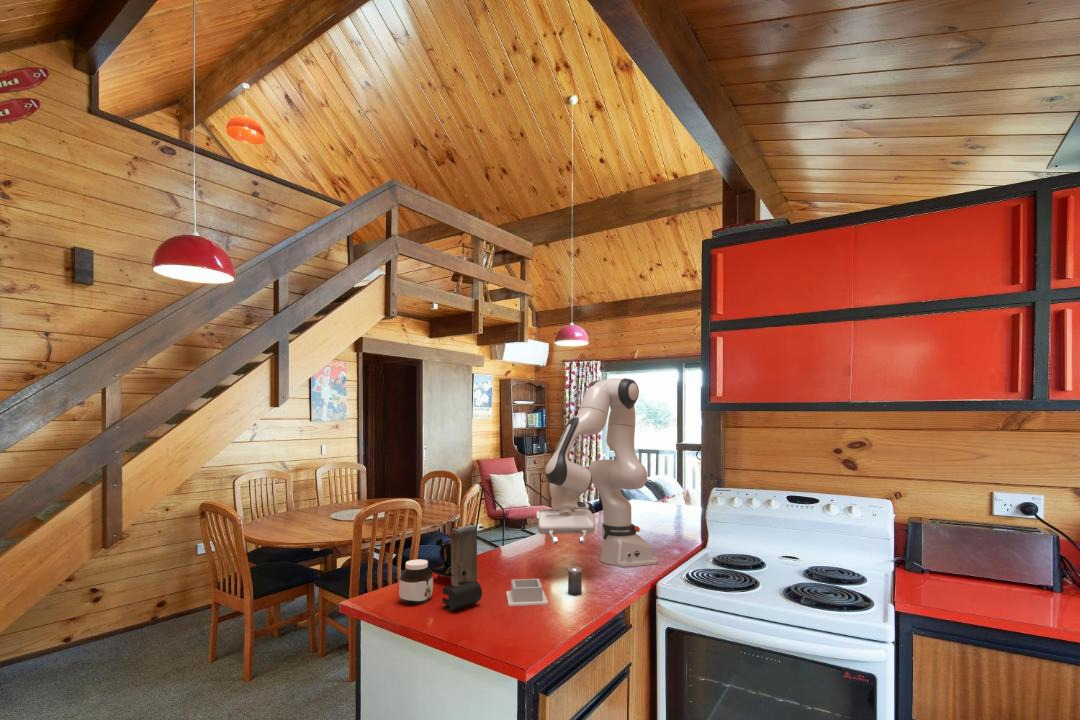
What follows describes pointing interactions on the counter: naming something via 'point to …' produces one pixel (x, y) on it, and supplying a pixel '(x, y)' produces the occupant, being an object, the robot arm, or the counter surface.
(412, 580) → the spread jar
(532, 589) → the open square tray
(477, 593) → the end cap
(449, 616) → the counter surface
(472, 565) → the vintage camera
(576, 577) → the brown cylinder
